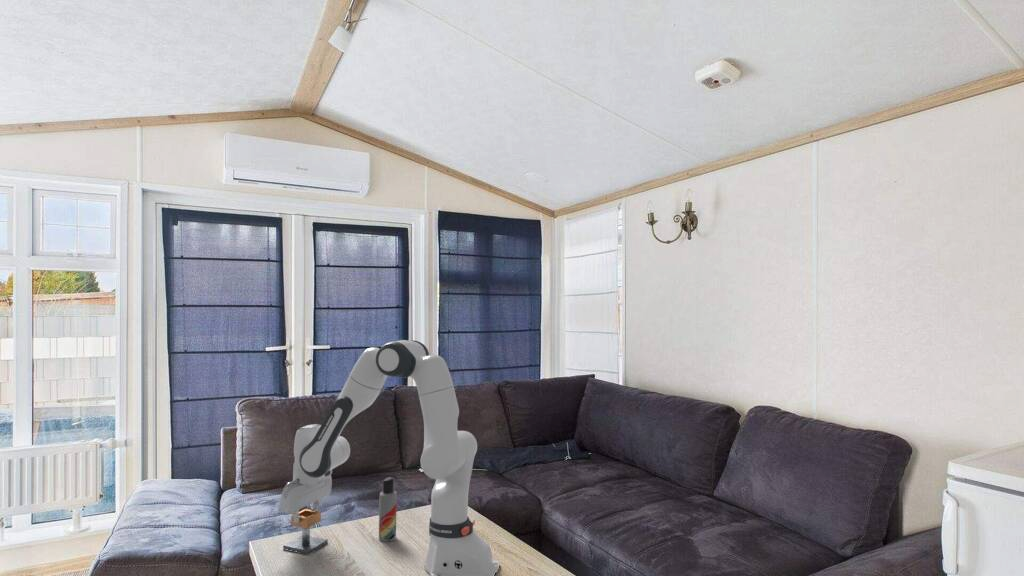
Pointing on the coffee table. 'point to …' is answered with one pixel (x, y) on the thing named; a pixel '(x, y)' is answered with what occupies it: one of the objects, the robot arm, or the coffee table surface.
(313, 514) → the wooden square frame
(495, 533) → the coffee table surface
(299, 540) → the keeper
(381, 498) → the lotion bottle
